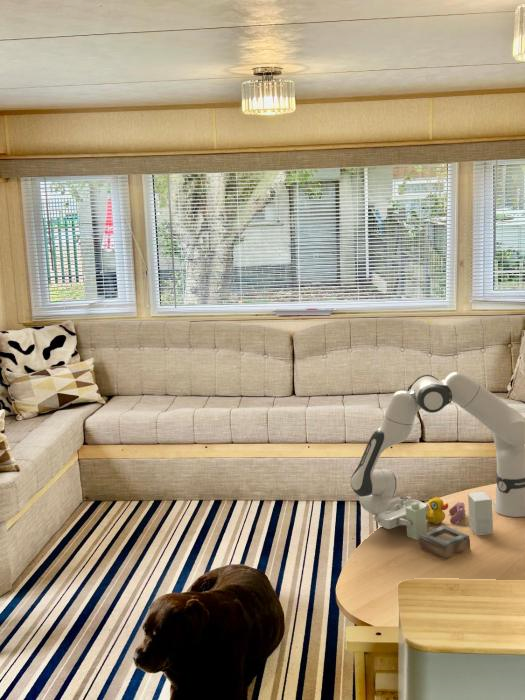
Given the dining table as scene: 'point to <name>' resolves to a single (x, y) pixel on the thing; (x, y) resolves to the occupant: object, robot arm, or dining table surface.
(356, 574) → the dining table surface
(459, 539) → the gray square frame
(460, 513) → the video game controller
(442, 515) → the duckling
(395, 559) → the dining table surface
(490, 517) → the small box
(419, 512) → the tower brick
